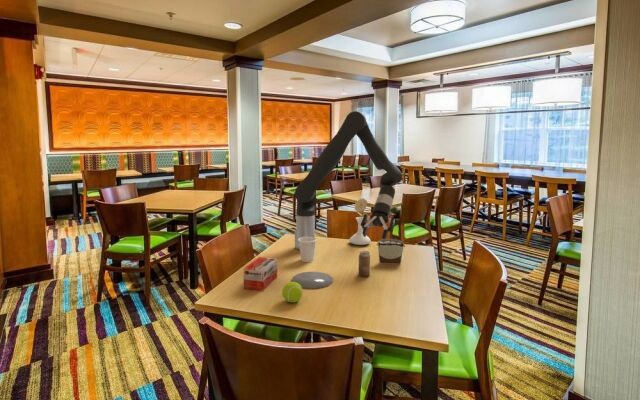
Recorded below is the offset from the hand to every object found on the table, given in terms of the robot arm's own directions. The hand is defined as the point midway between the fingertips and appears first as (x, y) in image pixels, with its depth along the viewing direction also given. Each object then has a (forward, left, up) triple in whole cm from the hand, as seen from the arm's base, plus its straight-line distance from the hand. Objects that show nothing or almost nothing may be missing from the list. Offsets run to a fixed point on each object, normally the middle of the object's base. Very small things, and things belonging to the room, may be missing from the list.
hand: (373, 237), depth 166 cm
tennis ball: (-13, -45, -14) cm, 49 cm away
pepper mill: (0, -11, -14) cm, 17 cm away
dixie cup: (-30, -4, -14) cm, 33 cm away
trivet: (-16, -25, -14) cm, 33 cm away
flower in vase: (-18, +31, -14) cm, 39 cm away
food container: (+4, +11, -14) cm, 19 cm away
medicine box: (-33, -37, -14) cm, 51 cm away
